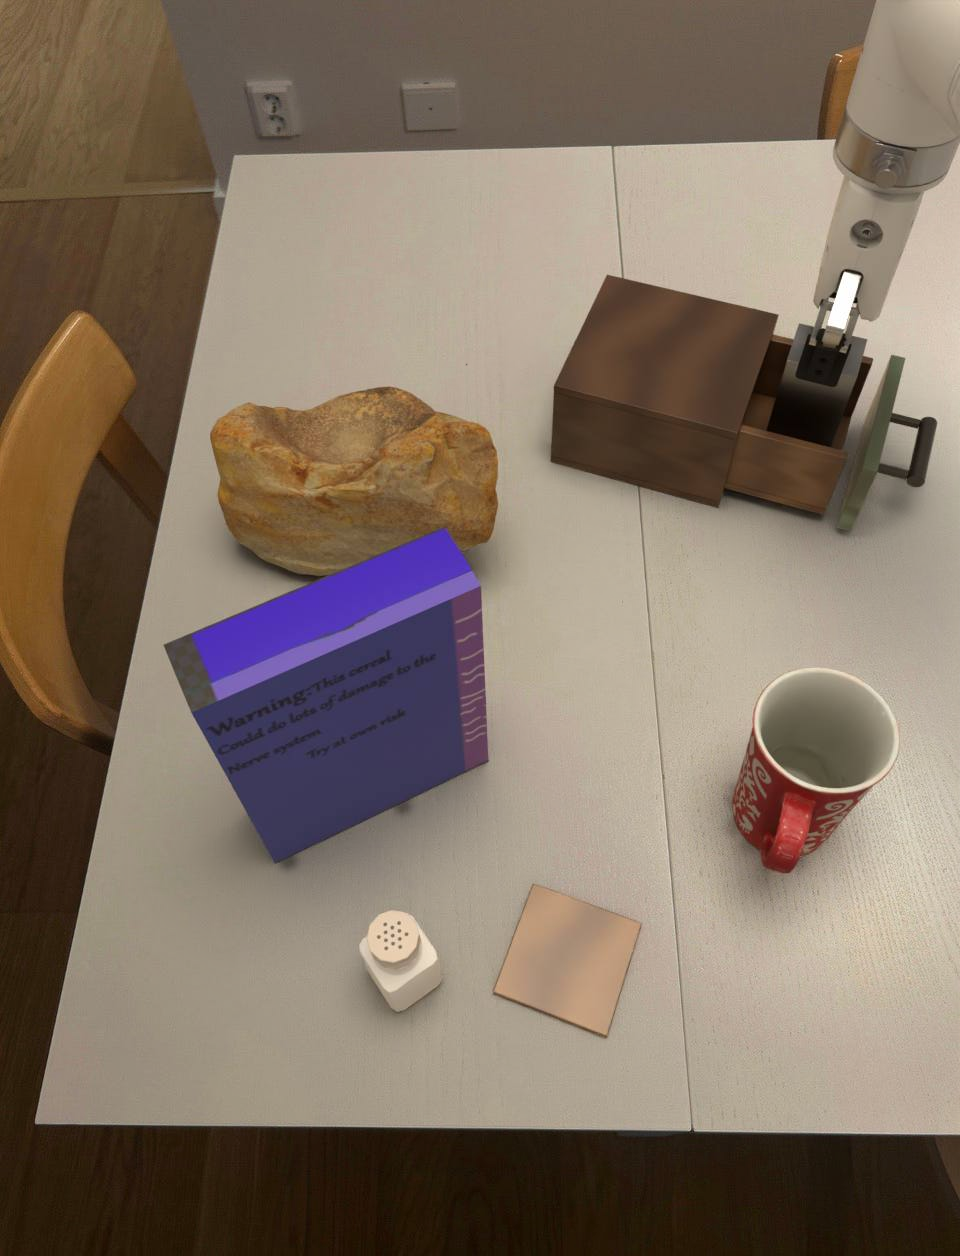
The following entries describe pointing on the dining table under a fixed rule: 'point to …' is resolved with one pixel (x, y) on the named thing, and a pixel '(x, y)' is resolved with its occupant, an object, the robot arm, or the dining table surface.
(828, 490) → the drawer
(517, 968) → the plate
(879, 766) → the mug
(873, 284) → the robot arm
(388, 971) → the pepper shaker
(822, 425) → the metal block
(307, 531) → the rough brown rock
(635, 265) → the dining table surface
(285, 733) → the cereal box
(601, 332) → the cabinet
